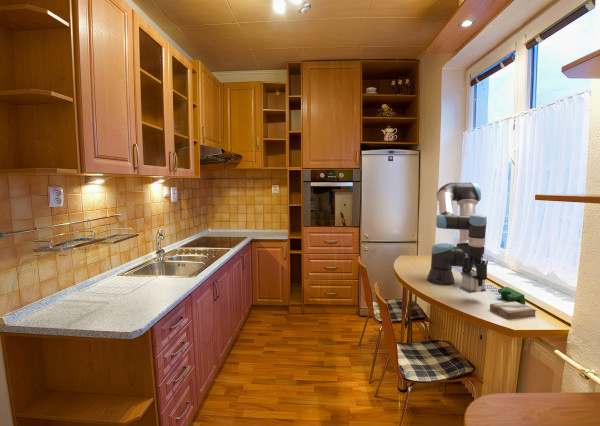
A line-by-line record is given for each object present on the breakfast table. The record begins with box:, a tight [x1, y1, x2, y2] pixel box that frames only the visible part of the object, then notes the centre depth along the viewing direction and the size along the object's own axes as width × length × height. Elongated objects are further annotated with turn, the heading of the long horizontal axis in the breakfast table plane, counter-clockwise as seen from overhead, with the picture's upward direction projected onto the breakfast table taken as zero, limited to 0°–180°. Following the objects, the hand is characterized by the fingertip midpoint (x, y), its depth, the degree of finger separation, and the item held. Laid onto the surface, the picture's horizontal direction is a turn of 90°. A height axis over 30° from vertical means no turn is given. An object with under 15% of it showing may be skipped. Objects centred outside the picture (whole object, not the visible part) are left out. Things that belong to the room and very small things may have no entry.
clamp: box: [497, 286, 526, 305], centre depth 152 cm, size 12×6×9 cm, turn 177°
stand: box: [489, 301, 537, 320], centre depth 139 cm, size 10×15×3 cm, turn 103°
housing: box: [459, 270, 487, 294], centre depth 153 cm, size 6×10×9 cm, turn 103°
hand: (472, 289), depth 153 cm, fingers closed on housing, 6 cm apart
